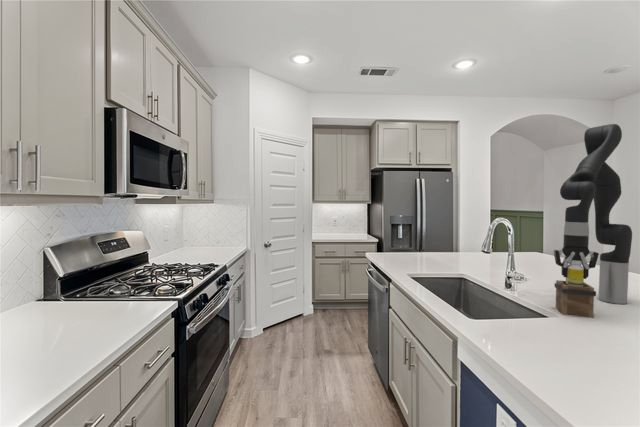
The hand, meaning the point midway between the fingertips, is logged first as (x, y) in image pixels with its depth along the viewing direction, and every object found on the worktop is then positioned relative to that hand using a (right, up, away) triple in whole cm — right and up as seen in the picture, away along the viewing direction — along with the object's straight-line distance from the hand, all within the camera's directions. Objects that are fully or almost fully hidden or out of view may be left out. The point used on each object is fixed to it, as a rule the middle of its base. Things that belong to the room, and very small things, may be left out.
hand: (574, 277), depth 125 cm
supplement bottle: (0, -3, 0) cm, 3 cm away
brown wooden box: (0, -13, 0) cm, 13 cm away
